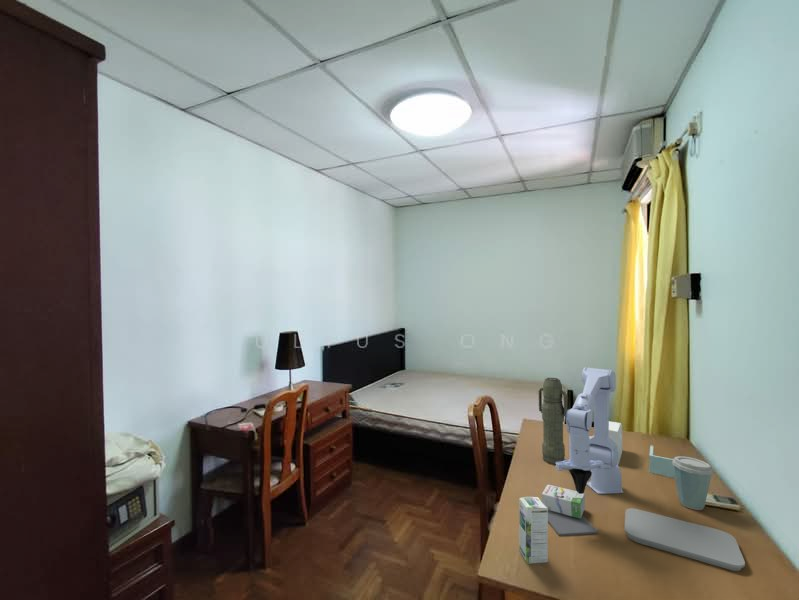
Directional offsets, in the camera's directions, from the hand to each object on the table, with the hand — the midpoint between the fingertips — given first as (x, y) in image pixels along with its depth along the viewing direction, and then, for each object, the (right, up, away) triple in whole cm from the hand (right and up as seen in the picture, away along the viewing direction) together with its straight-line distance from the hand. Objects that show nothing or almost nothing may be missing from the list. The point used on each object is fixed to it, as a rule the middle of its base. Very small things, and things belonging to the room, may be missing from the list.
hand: (579, 492), depth 113 cm
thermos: (+10, -9, +43) cm, 45 cm away
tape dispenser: (+35, -9, +48) cm, 60 cm away
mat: (-4, -9, 0) cm, 10 cm away
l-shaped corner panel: (+51, -9, +32) cm, 61 cm away
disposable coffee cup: (+41, -9, +8) cm, 43 cm away
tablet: (+23, -9, -9) cm, 27 cm away
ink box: (+2, -6, +2) cm, 7 cm away
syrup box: (-20, -9, -15) cm, 27 cm away
